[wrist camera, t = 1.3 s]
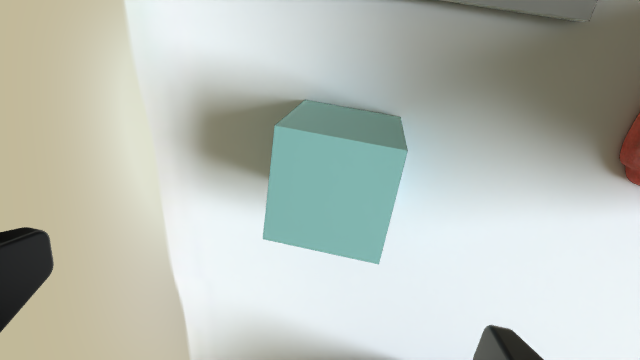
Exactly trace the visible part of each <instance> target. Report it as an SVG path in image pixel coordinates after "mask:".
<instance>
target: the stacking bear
mask: <svg viewBox="0 0 640 360" xmlns="http://www.w3.org/2000/svg"><path fill="white" fill-rule="evenodd" d="M620 161H621V163H622V164H624V165H625V167H626V168H625V172H626V176H627V178H628V179H629V180H630V181H631V182H632V183H634V184H637V185H640V113H639V115H638V116H637V118H636V119H635V121H634V123H633V125H632V126H631V128H630V130H629V132H628V134H627V136H626V138H625V140H624V142H623V145H622V148H621V152H620Z"/></svg>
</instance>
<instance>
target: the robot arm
mask: <svg viewBox="0 0 640 360" xmlns="http://www.w3.org/2000/svg"><path fill="white" fill-rule="evenodd" d="M52 270H53V257H52V251H51V244H50V238H49V235H48V234H47V233H46V232H45V231H42V230H38V229H33V228H27V227H26V228H25V227H24V228H18V229H14V230H9V231H4V232H0V332H1V331H2V330H3V329H4V327H6V325H7V324H8V323H9V322H10V321H11V320H12V318H13V317H14V316H15V315H16V314H17V313H18V312H19V310H20V309H21V308H22V307H23V306H24V305H25V303H26V302H27V301H28V300H29V299H30V297H31V296H32V295H33V294H34V293H35V292H36V291H37V290H38V288H39V287H40V286H41V285H42V284H43V283H44V281H45V280H46V279H47V278H48V277H49V275H50V274H51V272H52ZM473 360H543V359H542V358H541V357H540V356H539V355H538V354H537V353H536V352H535V351H534V350H533V349H532V348H531V347H530V346H529V345H527V344H526V343H525V342H524V341H523V340H522V339H521V338H520V337H519V336H518V335H517V334H516V333H515V332H513V331H512V330H511V329H508V328H503V327H499V326H494V325H489V326H487V327H486V328H485V329H484V331H483V334H482V336H481V339H480V342H479V344H478V347H477V349H476V352H475V354H474V357H473Z"/></svg>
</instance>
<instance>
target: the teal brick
mask: <svg viewBox="0 0 640 360" xmlns="http://www.w3.org/2000/svg"><path fill="white" fill-rule="evenodd" d="M407 151H408V150H407V145H406V141H405V136H404V131H403V127H402V122H401V118H400V117H397V116H392V115H386V114H381V113H375V112H370V111H364V110H359V109H353V108H348V107H342V106H337V105H331V104H326V103H320V102H315V101H309V100H304V101H303V102H302V103H301V104H300V105H298V106H297V107H296V108H295V109H294V110H292V111H291V112H290V113H289V114H288V115H287V116H285V117H284V118H283V119H282V120H281V121H279V122H278V123H277V124H276V125H275V127H274V137H273V146H272V156H271V165H270V175H269V184H268V194H267V203H266V213H265V222H264V232H263V239H265V240H270V241H274V242H279V243H283V244H288V245H293V246H297V247H302V248H306V249H311V250H316V251H320V252H325V253H329V254H334V255H338V256H343V257H348V258H352V259H357V260H361V261H366V262H371V263H375V264H379V262H380V258H381V254H382V250H383V246H384V242H385V238H386V234H387V230H388V226H389V222H390V218H391V214H392V211H393V207H394V203H395V199H396V195H397V191H398V187H399V183H400V179H401V175H402V171H403V167H404V163H405V159H406V155H407Z"/></svg>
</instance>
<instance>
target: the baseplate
mask: <svg viewBox="0 0 640 360" xmlns="http://www.w3.org/2000/svg"><path fill="white" fill-rule="evenodd" d="M440 1H447V2H453V3H460V4H466V5H473V6H479V7H486V8H492V9H499V10H505V11H512V12H518V13H525V14H531V15H538V16H544V17H551V18H558V19H564V20H571V21H577V22H580V21H590V18H591V16H592V13H593V11H594V8H595V6H596V3H597V1H598V0H440Z"/></svg>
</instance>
